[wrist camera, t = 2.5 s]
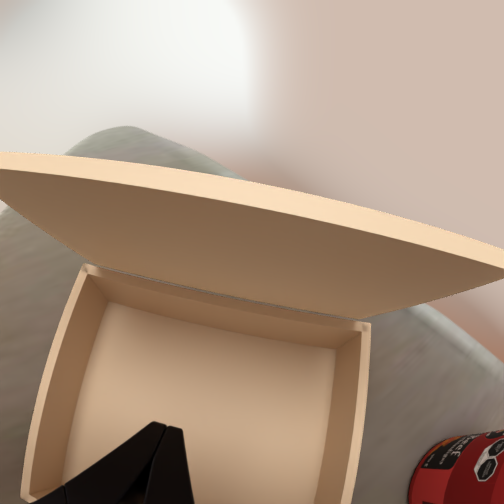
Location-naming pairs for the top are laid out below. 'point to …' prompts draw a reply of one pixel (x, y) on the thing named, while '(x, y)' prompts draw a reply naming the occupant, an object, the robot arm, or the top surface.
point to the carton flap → (243, 236)
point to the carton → (203, 391)
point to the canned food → (461, 471)
